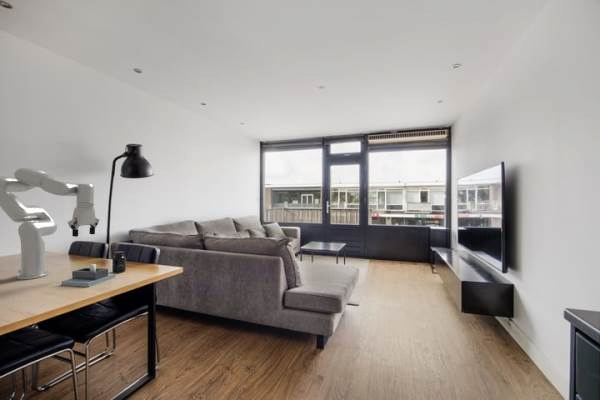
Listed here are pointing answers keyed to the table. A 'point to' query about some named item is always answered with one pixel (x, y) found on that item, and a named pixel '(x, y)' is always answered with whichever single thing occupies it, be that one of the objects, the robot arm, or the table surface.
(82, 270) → the dark gray open box
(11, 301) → the table surface
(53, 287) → the table surface
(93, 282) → the board
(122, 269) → the supplement bottle
